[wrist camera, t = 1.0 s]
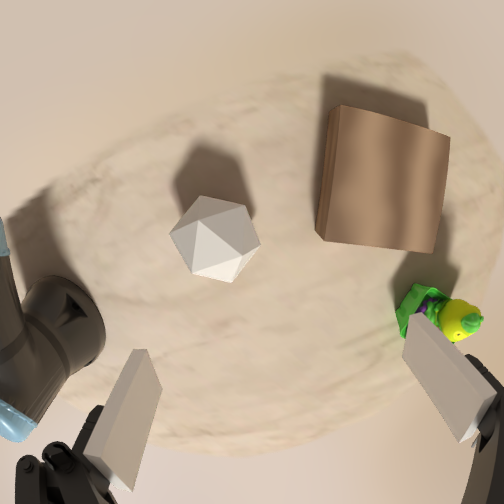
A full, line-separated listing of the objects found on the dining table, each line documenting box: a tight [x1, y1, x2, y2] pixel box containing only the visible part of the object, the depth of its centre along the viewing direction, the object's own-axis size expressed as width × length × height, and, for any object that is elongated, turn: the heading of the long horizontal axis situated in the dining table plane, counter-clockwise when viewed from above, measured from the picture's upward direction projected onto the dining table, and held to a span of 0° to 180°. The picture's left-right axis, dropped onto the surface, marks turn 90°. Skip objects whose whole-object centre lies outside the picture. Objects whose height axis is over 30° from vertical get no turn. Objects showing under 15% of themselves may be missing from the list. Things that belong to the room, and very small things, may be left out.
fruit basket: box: [395, 283, 484, 344], centre depth 31 cm, size 11×9×11 cm
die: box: [169, 195, 261, 283], centre depth 30 cm, size 8×9×10 cm
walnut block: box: [315, 105, 450, 254], centre depth 29 cm, size 14×14×5 cm
